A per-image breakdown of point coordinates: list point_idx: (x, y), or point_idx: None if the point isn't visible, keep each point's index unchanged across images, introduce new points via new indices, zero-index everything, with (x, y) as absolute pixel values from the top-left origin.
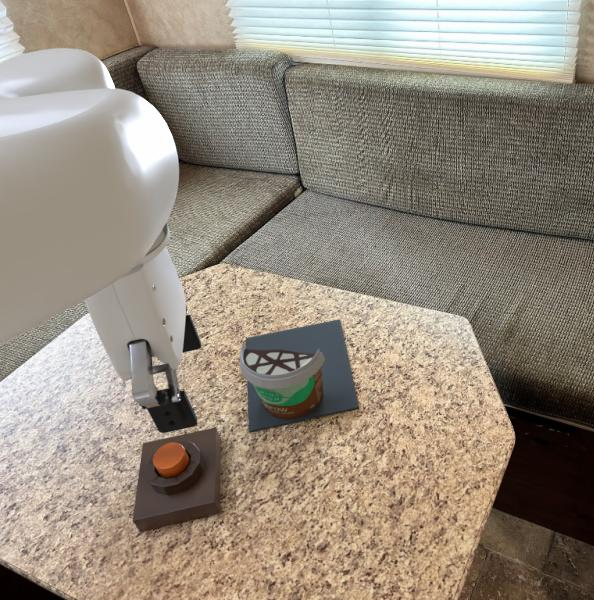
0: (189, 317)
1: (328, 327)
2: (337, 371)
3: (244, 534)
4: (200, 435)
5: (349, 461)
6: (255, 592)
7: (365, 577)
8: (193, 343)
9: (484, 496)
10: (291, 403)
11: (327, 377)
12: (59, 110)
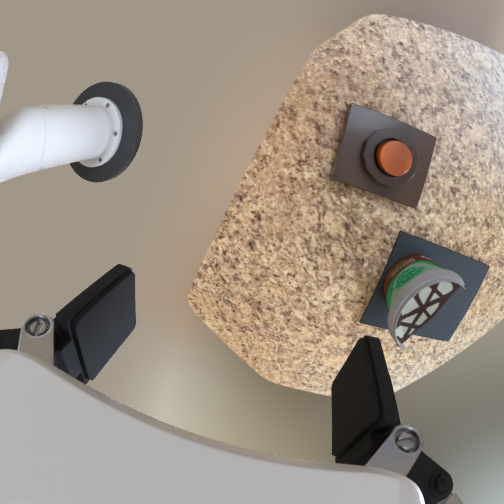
0: (339, 462)
1: (448, 331)
2: None
3: (297, 190)
4: (415, 191)
5: (316, 294)
6: (240, 183)
7: (214, 262)
8: (335, 394)
9: (235, 350)
10: (390, 286)
11: None
12: None
